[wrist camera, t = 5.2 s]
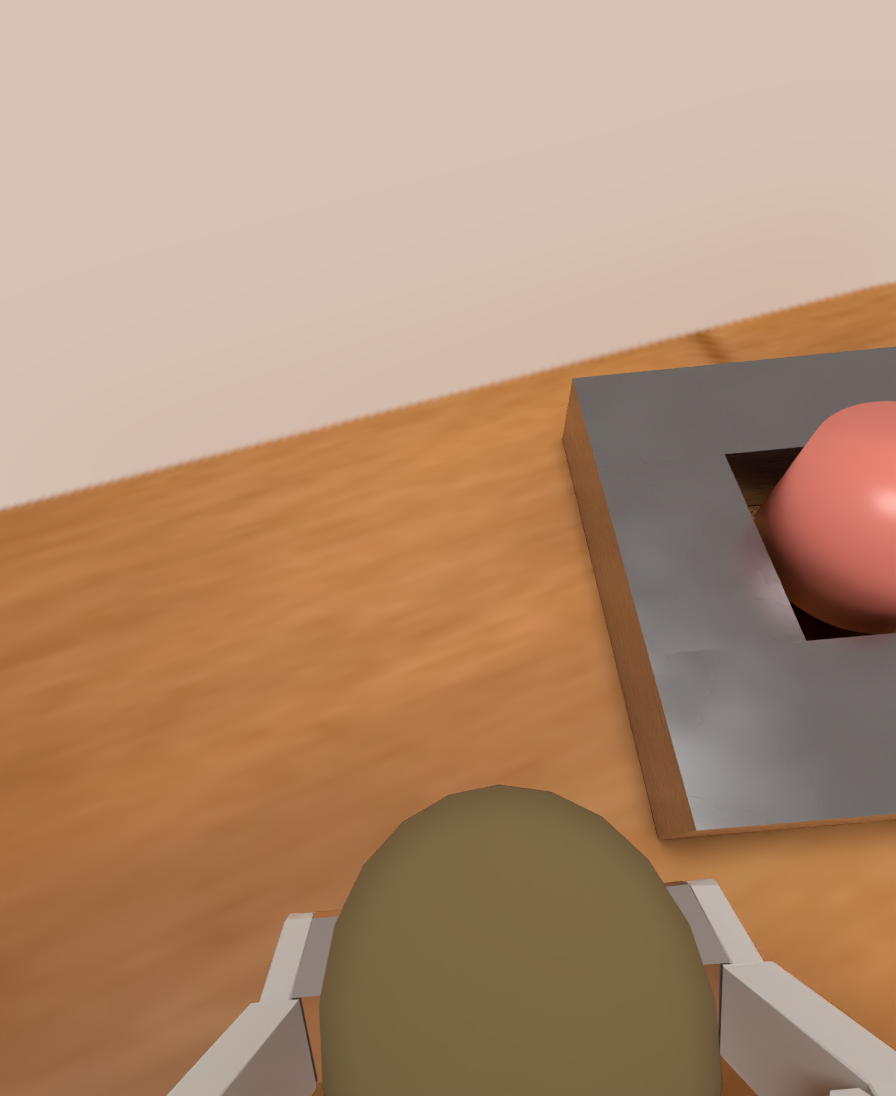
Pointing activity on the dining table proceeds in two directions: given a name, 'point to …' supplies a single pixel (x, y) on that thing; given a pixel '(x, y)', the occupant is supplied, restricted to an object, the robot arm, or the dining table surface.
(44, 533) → the dining table surface
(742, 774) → the switch box
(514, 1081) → the olive pepper mill
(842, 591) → the button
